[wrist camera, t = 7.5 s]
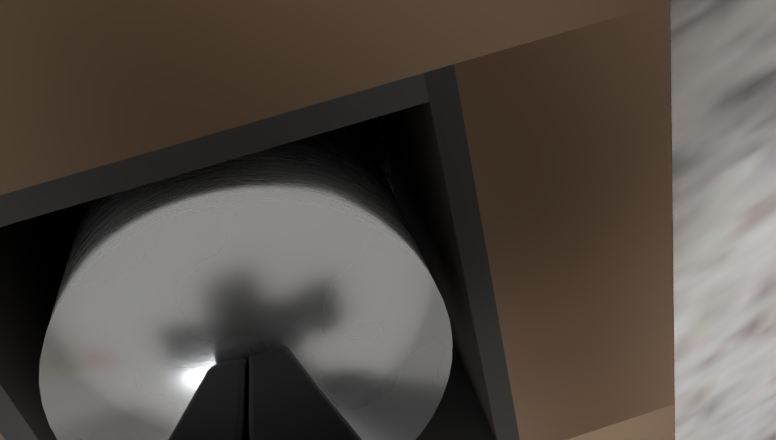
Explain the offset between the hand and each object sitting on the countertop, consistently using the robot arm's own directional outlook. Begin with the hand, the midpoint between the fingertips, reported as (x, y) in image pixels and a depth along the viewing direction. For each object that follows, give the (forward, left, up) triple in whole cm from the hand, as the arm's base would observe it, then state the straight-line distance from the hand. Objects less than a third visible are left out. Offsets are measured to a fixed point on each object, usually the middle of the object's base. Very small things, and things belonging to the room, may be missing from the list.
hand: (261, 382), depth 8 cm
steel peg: (0, 0, -5) cm, 5 cm away
